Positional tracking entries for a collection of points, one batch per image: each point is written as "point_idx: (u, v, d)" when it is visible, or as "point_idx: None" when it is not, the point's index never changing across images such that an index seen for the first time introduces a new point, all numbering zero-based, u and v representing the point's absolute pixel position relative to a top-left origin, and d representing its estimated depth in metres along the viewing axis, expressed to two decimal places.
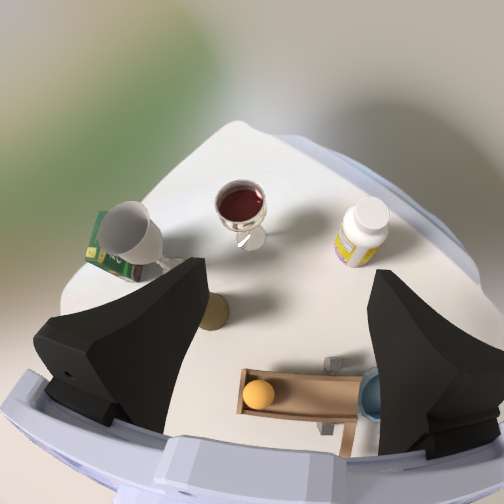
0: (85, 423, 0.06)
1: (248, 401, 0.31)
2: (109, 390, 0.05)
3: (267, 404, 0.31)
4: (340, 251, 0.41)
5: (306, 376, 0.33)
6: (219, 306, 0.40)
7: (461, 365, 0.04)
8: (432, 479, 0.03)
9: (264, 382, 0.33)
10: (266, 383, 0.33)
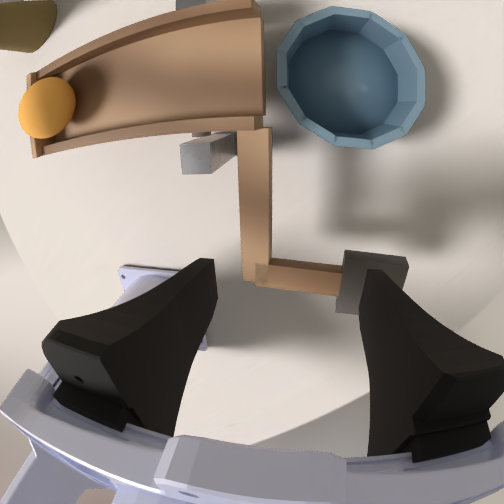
0: (86, 424, 0.06)
1: (22, 128, 0.11)
2: (123, 395, 0.05)
3: (47, 120, 0.11)
4: None
5: (114, 33, 0.10)
6: (20, 10, 0.10)
7: (447, 366, 0.04)
8: (432, 479, 0.03)
9: (44, 79, 0.11)
10: (46, 79, 0.11)
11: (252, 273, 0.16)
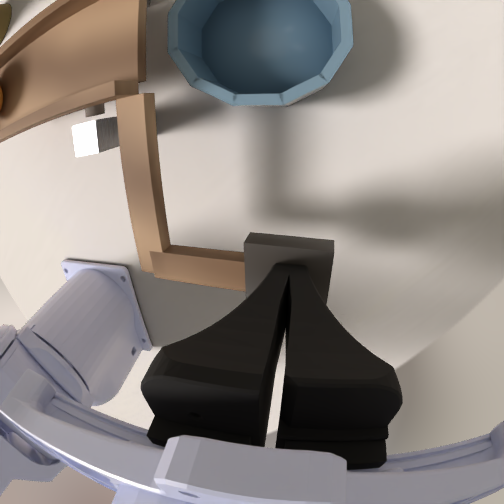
0: (86, 424, 0.06)
1: None
2: (259, 425, 0.05)
3: None
4: None
5: (22, 29, 0.07)
6: None
7: (298, 369, 0.05)
8: (432, 479, 0.03)
9: None
10: None
11: (149, 263, 0.13)
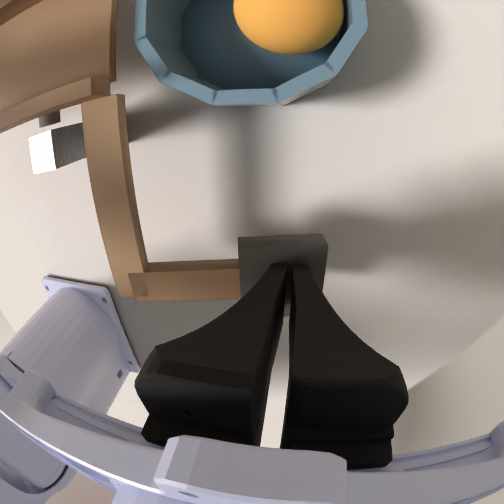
0: (86, 424, 0.06)
1: None
2: (252, 424, 0.05)
3: (243, 32, 0.08)
4: None
5: None
6: None
7: (305, 369, 0.05)
8: (432, 479, 0.03)
9: None
10: None
11: (128, 286, 0.12)
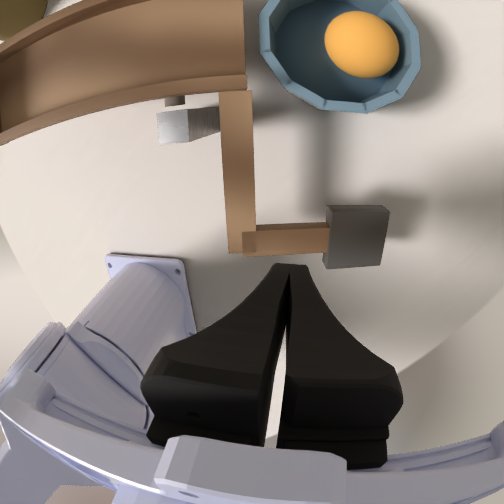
0: (85, 423, 0.06)
1: None
2: (258, 425, 0.05)
3: (331, 58, 0.12)
4: None
5: (87, 0, 0.07)
6: (10, 0, 0.08)
7: (299, 369, 0.05)
8: (432, 479, 0.03)
9: None
10: None
11: (239, 243, 0.15)
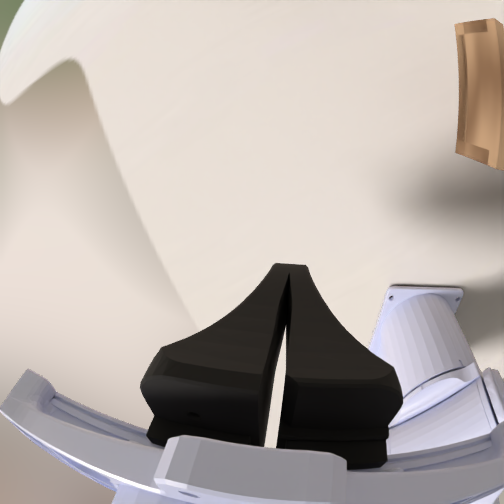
0: (85, 424, 0.06)
1: None
2: (258, 425, 0.05)
3: None
4: None
5: None
6: None
7: (299, 369, 0.05)
8: (432, 479, 0.03)
9: None
10: None
11: None
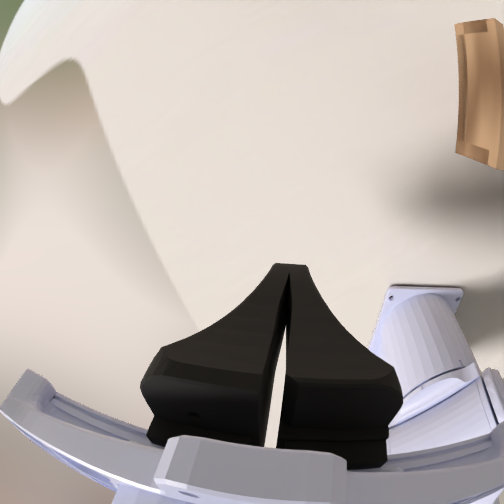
0: (85, 424, 0.06)
1: None
2: (258, 425, 0.05)
3: None
4: None
5: None
6: None
7: (299, 369, 0.05)
8: (432, 479, 0.03)
9: None
10: None
11: None
